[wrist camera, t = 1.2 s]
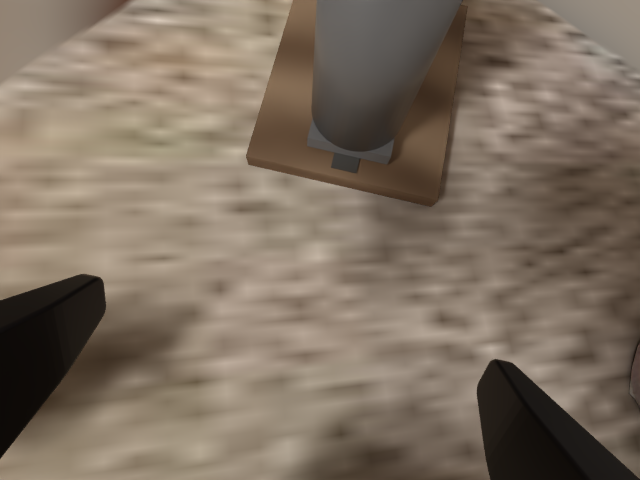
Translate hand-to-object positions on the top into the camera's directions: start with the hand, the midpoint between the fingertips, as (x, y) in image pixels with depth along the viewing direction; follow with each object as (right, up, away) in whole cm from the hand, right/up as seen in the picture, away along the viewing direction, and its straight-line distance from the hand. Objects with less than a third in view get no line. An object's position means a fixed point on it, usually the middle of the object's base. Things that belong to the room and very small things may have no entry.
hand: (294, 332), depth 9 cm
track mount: (+4, +13, +17) cm, 22 cm away
